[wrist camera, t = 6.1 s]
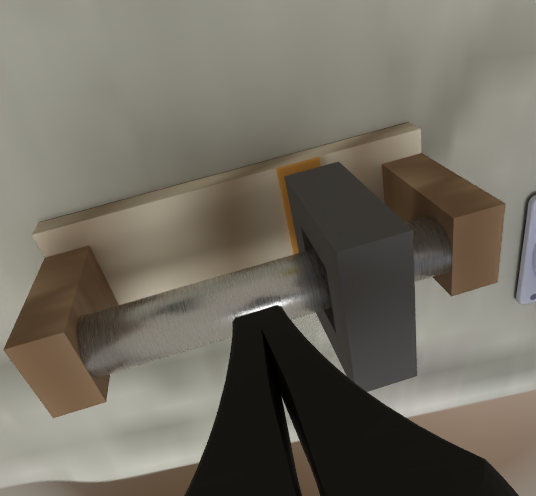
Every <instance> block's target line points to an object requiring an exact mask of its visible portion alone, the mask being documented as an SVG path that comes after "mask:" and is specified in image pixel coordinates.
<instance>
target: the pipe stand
mask: <svg viewBox="0 0 536 496" xmlns="http://www.w3.org/2000/svg"><path fill="white" fill-rule="evenodd" d="M338 161H339V162H340V163H341V164H342V165H343V166H344V167H345V168H347V169H348V170H349V171H350V172H351V173H352V174H353V175H354V176H355V177H356V178H357V179H358V180H359V181H361V182H362V183H363V184H364V185H365V186H366V187H367V188H368V189H369V190H370V191H371V192H372V193H373V194H375V195H376V196H377V197H378V198H379V199H380V200H381V201H382V202H383V203H384V204H385V205H386V206H387V207H389V208H390V209H391V210H392V211H393V212H394V213H395V214H396V215H397V216H398V217H399V218H400V219H401V220H403V221H404V222H405V223H406V224H407V225H408V226H409V227H410V228H411V229H412V230H413V249H414V282H418V281H421V280H424V279H428V278H431V277H433V278H434V279H435V280H436V281H437V282H438V283H439V284H440V285H441V286H442V287H443V288H444V289H445V290H446V291H447V292H448V293H449V294H450V295H451V296H454V295H458V294H461V293H464V292H467V291H471V290H474V289H477V288H480V287H484V286H487V285H490V284H494V283H497V282H498V272H499V262H500V252H501V242H502V232H503V222H504V212H505V203H504V202H502V201H500V200H499V199H497V198H495V197H494V196H492V195H490V194H489V193H487V192H485V191H484V190H482V189H480V188H479V187H477V186H475V185H474V184H472V183H470V182H469V181H467V180H465V179H464V178H462V177H460V176H459V175H457V174H455V173H454V172H452V171H450V170H449V169H447V168H445V167H444V166H442V165H440V164H439V163H437V162H435V161H434V160H432V159H430V158H429V157H427V156H425V155H424V154H422V153H421V128H419V127H417V126H415V125H413V124H411V123H409V122H408V123H404V124H400V125H397V126H393V127H389V128H386V129H382V130H378V131H375V132H371V133H367V134H364V135H360V136H356V137H353V138H349V139H345V140H342V141H338V142H334V143H330V144H327V145H323V146H319V147H316V148H312V149H308V150H305V151H301V152H297V153H294V154H290V155H286V156H283V157H279V158H275V159H272V160H268V161H264V162H261V163H257V164H253V165H249V166H246V167H242V168H238V169H235V170H231V171H227V172H224V173H220V174H216V175H213V176H209V177H205V178H202V179H198V180H194V181H191V182H187V183H183V184H180V185H176V186H172V187H168V188H165V189H161V190H157V191H154V192H150V193H146V194H143V195H139V196H135V197H132V198H128V199H124V200H121V201H117V202H113V203H110V204H106V205H102V206H99V207H95V208H91V209H87V210H84V211H80V212H76V213H73V214H69V215H65V216H62V217H58V218H54V219H51V220H47V221H43V222H40V223H38V225H37V227H36V229H35V230H34V232H33V234H32V236H33V237H34V239H35V241H36V243H37V244H38V246H39V248H40V250H41V251H42V253H43V255H44V257H45V259H44V261H43V263H42V265H41V268H40V270H39V272H38V274H37V276H36V279H35V281H34V283H33V285H32V288H31V290H30V292H29V294H28V296H27V299H26V301H25V303H24V305H23V308H22V310H21V312H20V314H19V316H18V319H17V321H16V323H15V325H14V328H13V330H12V332H11V334H10V336H9V339H8V341H7V343H6V345H5V347H4V351H5V353H6V354H7V355H8V357H9V358H10V360H11V361H12V362H13V364H14V365H15V366H16V368H17V369H18V371H19V372H20V373H21V375H22V376H23V377H24V379H25V380H26V382H27V383H28V384H29V386H30V387H31V388H32V390H33V391H34V392H35V394H36V395H37V397H38V398H39V399H40V401H41V402H42V403H43V405H44V406H45V408H46V409H47V410H48V412H49V413H50V414H51V416H52V417H53V418H55V417H59V416H62V415H65V414H68V413H72V412H75V411H78V410H81V409H85V408H88V407H91V406H94V405H98V404H101V403H104V402H106V399H107V392H108V385H109V378H110V374H112V373H115V372H119V371H122V370H125V369H129V368H132V367H135V366H139V365H142V364H145V363H149V362H152V361H155V360H159V359H162V358H165V357H169V356H172V355H175V354H178V353H182V352H185V351H188V350H192V349H195V348H198V347H202V346H205V345H208V344H212V343H215V342H218V341H222V340H225V339H228V338H232V330H233V328H232V322H233V320H234V319H235V318H236V317H239V316H242V315H246V314H249V313H252V312H255V311H259V310H262V309H265V308H268V307H272V306H275V305H279V306H281V307H282V308H283V310H284V311H285V313H286V314H287V316H288V317H289V319H290V320H291V319H295V318H298V317H301V316H305V315H308V314H311V313H315V312H318V311H321V310H325V309H328V308H331V307H332V303H331V297H330V291H329V284H328V278H327V272H326V267H325V266H324V264H323V262H322V261H321V259H320V257H319V256H318V254H317V252H316V251H315V249H311V250H307V251H304V252H301V253H299V249H298V244H297V239H296V234H295V229H294V224H293V218H292V213H291V208H290V203H289V198H288V193H287V188H286V182H285V177H284V176H287V175H291V174H295V173H298V172H302V171H306V170H309V169H313V168H316V167H320V166H324V165H327V164H331V163H335V162H338Z"/></svg>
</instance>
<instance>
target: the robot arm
mask: <svg viewBox="0 0 536 496" xmlns="http://www.w3.org/2000/svg"><path fill="white" fill-rule="evenodd" d="M516 300H517V301H518V302H519V303H520V304H522V305H525V304H529V303H532V302H535V301H536V195H534V196H533V197H532V198H531V199H530V201H529V204H528V211H527V219H526V226H525V234H524V242H523V249H522V257H521V265H520V272H519V280H518V287H517V295H516ZM232 328H233V330H232V345H231V353H230V359H229V365H228V370H227V376H226V381H225V385H224V389H223V393H222V397H221V401H220V405H219V408H218V412H217V415H216V418H215V422H214V425H213V428H212V431H211V434H210V436H209V439H208V442H207V445H206V447H205V450H204V452H203V455H202V457H201V460H200V462H199V465H198V468H197V470H196V472H195V475H194V477H193V479H192V481H191V483H190V486H189V488H188V490H187V492H186V494H185V496H302V494H301V490H300V486H299V482H298V477H297V473H296V468H295V463H294V458H293V453H292V448H291V442H290V437H289V432H288V427H287V422H286V417H285V412H284V406H283V401H284V403H285V406H286V408H287V411H288V413H289V415H290V418H291V420H292V423H293V425H294V428H295V430H296V433H297V435H298V438H299V440H300V442H301V445H302V447H303V450H304V452H305V455H306V457H307V459H308V462H309V464H310V467H311V470H312V472H313V475H314V478H315V481H316V483H317V487H318V490H319V493H320V496H519V495H518V494H517V493H516V492H515V490H514V489H513V488H512V487H511V486H510V485H509V484H508V483H507V481H506V480H505V479H504V478H503V477H502V476H501V475H500V474H499V473H498V472H497V471H496V470H495V469H494V468H493V467H492V466H491V464H489V463H488V462H487V461H486V460H485V459H484V458H481V457H479V456H477V455H475V454H473V453H471V452H469V451H466V450H464V449H462V448H460V447H458V446H456V445H454V444H452V443H450V442H448V441H446V440H444V439H442V438H440V437H439V436H437V435H435V434H433V433H431V432H429V431H427V430H426V429H424V428H422V427H420V426H418V425H417V424H415V423H414V422H412V421H410V420H409V419H407V418H405V417H404V416H402V415H401V414H399V413H397V412H396V411H394V410H392V409H391V408H389V407H388V406H386V405H385V404H383V403H382V402H380V401H379V400H377V399H376V398H374V397H373V396H372V395H370V394H369V393H367V392H366V391H365V390H363V389H362V388H361V387H359V386H358V385H357V384H355V383H354V382H353V381H352V380H350V379H349V378H348V377H347V376H346V375H344V374H343V373H342V372H341V371H340V370H338V369H337V368H336V367H335V366H334V365H333V364H332V363H331V362H329V361H328V360H327V359H326V358H325V357H324V356H323V355H322V354H321V353H320V352H319V351H318V350H317V349H316V348H315V347H314V346H313V345H312V344H311V343H310V342H309V341H308V340H307V339H306V338H305V337H304V335H303V334H302V333H301V332H300V331H299V330H298V329H297V327H296V326H295V325H294V324H293V322H292V321H291V320H290V319H289V317H288V316H287V314H286V313H285V311H284V310H283V308H282V307H281V306H279V305H275V306H272V307H268V308H265V309H262V310H259V311H255V312H252V313H249V314H246V315H242V316H239V317H236V318H235V319H234V320H233V322H232ZM282 398H283V401H282Z"/></svg>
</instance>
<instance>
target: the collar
mask: <svg viewBox="0 0 536 496" xmlns="http://www.w3.org/2000/svg"><path fill="white" fill-rule="evenodd" d="M284 177H285V182H286V188H287V193H288V198H289V203H290V208H291V213H292V218H293V224H294V229H295V234H296V239H297V244H298V249H299V253H301V252H304V251H307V250H311V249H315V251H316V252H317V254H318V256H319V257H320V259H321V261H322V262H323V264H324V266H325V267H326V272H327V278H328V284H329V291H330V297H331V303H332V307H331V308H328V309H325V310H321V311H318V312H316V314H317V316H318V318H319V320H320V322H321V324H322V326H323V328H324V330H325V332H326V334H327V336H328V338H329V340H330V342H331V344H332V346H333V348H334V351H335V353H336V355H337V357H338V359H339V361H340V363H341V365H342V367H343V369H344V371H345V373H346V375H347V377H348V378H349V379H350V380H352V381H353V382H354V383H355V384H357V385H358V386H359V387H361V388H362V389H363V390H365V391H366V392H368V391H371V390H374V389H377V388H381V387H384V386H387V385H390V384H393V383H396V382H399V381H403V380H406V379H409V378H412V377H415V376H417V359H416V322H415V286H414V249H413V230H412V229H411V228H410V227H409V226H408V225H407V224H406V223H405V222H404V221H403V220H401V219H400V218H399V217H398V216H397V215H396V214H395V213H394V212H393V211H392V210H391V209H390V208H389V207H387V206H386V205H385V204H384V203H383V202H382V201H381V200H380V199H379V198H378V197H377V196H376V195H375V194H373V193H372V192H371V191H370V190H369V189H368V188H367V187H366V186H365V185H364V184H363V183H362V182H361V181H359V180H358V179H357V178H356V177H355V176H354V175H353V174H352V173H351V172H350V171H349V170H348V169H347V168H345V167H344V166H343V165H342V164H341V163H340V162H339V161H338V162H335V163H331V164H327V165H324V166H320V167H316V168H313V169H309V170H306V171H302V172H298V173H295V174H291V175H287V176H284Z"/></svg>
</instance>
